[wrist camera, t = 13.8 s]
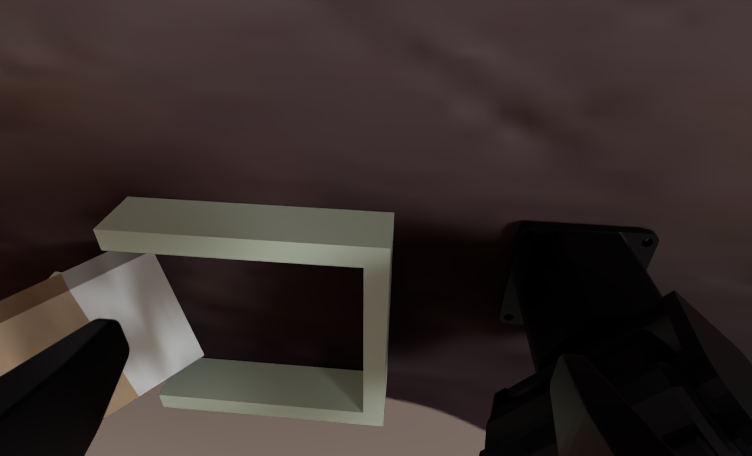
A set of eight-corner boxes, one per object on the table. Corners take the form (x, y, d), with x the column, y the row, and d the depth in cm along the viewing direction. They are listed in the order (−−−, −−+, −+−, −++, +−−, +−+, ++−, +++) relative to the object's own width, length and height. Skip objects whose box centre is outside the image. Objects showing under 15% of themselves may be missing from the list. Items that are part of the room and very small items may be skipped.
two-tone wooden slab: (140, 236, 25) (-104, 348, 20) (152, 250, 24) (-105, 373, 18) (191, 338, 29) (3, 452, 24) (204, 355, 28) (8, 479, 23)
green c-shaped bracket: (127, 196, 24) (93, 229, 21) (394, 212, 23) (390, 248, 20) (184, 367, 31) (163, 406, 29) (386, 384, 30) (382, 426, 28)
